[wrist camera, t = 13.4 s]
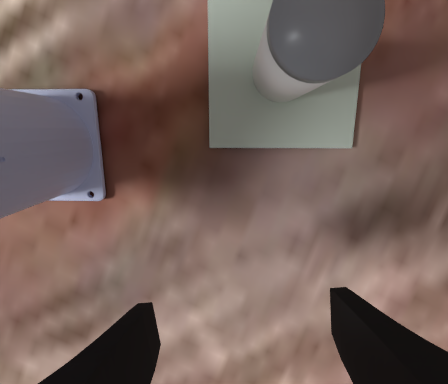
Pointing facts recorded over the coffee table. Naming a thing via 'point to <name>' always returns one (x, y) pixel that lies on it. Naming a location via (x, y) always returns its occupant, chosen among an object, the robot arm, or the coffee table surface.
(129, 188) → the coffee table surface
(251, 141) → the mat
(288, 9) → the cylinder
